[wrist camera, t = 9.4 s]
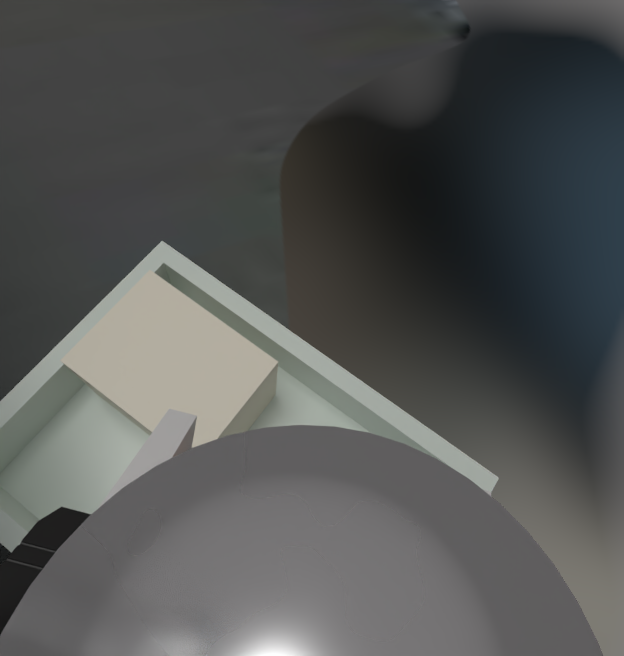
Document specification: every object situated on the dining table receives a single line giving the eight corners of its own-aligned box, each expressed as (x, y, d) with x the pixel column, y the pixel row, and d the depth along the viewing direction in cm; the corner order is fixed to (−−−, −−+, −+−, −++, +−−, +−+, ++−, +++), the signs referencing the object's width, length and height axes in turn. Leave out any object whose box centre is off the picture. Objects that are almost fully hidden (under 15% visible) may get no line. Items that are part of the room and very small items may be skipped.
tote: (-27, 486, 28) (-76, 476, 24) (174, 277, 34) (162, 240, 30) (305, 772, 25) (314, 817, 21) (467, 486, 31) (499, 477, 27)
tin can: (111, 653, 16) (-243, 893, 5) (258, 457, 18) (248, 319, 7) (304, 823, 15) (428, 1663, 4) (432, 589, 17) (734, 660, 6)
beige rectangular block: (97, 394, 30) (60, 360, 24) (169, 317, 32) (150, 269, 26) (208, 481, 29) (195, 466, 23) (275, 394, 31) (278, 361, 25)
